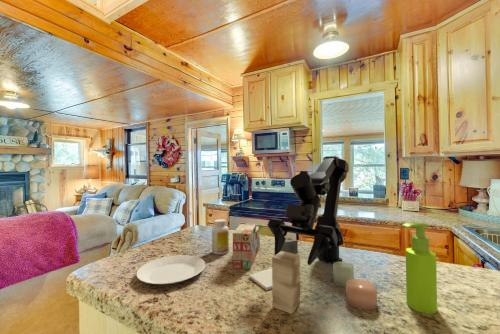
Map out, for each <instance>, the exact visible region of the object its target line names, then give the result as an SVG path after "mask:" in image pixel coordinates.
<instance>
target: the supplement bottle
mask: <svg viewBox="0 0 500 334" xmlns="http://www.w3.org/2000/svg"><path fill="white" fill-rule="evenodd" d="M213 222H214V223H213V224H214V226H213V227H212V228H211V249H212V250H211V252H212V254H214V255H218V256H221V255H226V254H228V253H229V251H230V249H229V248H230V247H229V246H230V244H229V241H230V240H229V239H230V238H229V236H230V235H229V227H228V226H227V220H226V219H223V218H220V219H215V220H214V221H213Z"/></svg>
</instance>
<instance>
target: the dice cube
mask: <svg viewBox="0 0 500 334" xmlns="http://www.w3.org/2000/svg"><path fill="white" fill-rule="evenodd" d="M285 238H286V240H285V242H284V244H283V246H282V249H281V251H284V252H289V253H293V254H298V253H299V249H298V247H299V245H298V243H299V241H298V239H295V238H294V237H291V236H287V237H285ZM281 251H280V252H281Z"/></svg>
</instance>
